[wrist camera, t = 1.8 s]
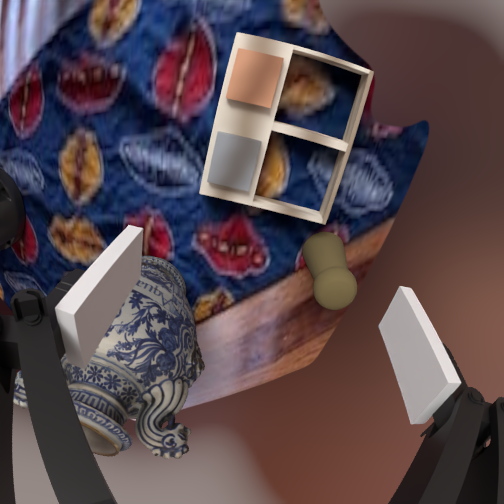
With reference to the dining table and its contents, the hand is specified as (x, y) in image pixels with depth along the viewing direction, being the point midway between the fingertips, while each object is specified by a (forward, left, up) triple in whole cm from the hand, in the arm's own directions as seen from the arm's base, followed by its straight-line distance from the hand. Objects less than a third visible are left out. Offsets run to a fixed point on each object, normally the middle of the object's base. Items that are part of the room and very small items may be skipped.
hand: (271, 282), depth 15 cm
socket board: (+1, +5, -27) cm, 27 cm away
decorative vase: (-13, -22, -27) cm, 37 cm away
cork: (+11, -10, -27) cm, 31 cm away
